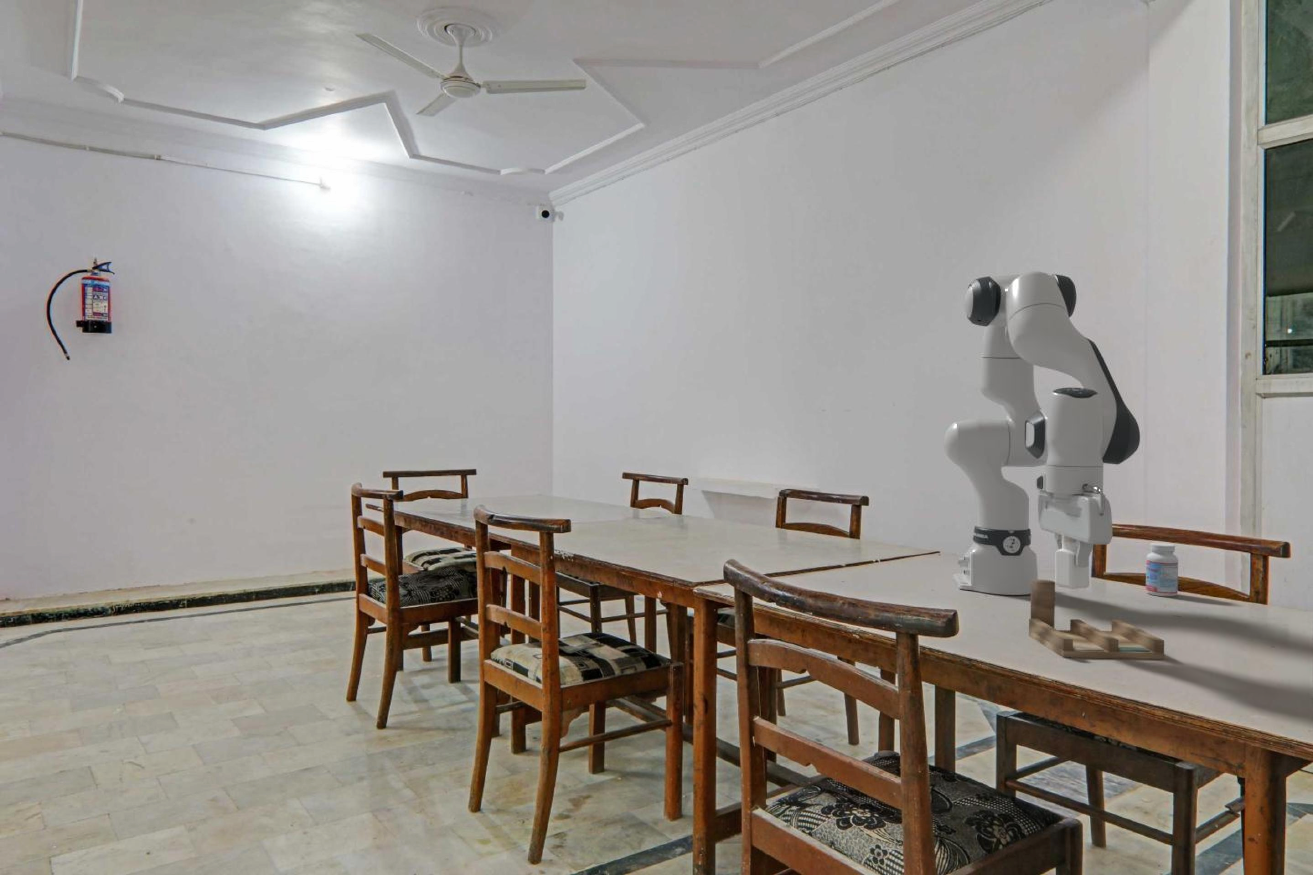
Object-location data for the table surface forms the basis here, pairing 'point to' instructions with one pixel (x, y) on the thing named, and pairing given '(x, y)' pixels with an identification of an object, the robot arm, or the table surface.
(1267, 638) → the table surface
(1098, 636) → the rack
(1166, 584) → the pill bottle
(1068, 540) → the pepper shaker
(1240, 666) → the table surface
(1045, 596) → the dowel
